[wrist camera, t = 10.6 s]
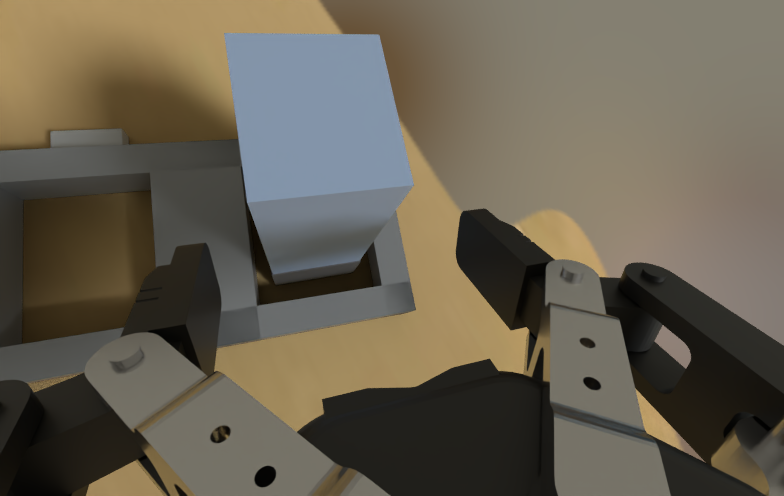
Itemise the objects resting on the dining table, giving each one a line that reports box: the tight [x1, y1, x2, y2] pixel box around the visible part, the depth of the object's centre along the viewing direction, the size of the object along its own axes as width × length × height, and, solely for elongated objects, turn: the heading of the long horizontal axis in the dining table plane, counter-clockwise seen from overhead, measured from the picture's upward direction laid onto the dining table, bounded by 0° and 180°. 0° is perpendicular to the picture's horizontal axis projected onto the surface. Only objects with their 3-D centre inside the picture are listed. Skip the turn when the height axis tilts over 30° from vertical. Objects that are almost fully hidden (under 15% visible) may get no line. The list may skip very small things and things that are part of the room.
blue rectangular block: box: [224, 33, 414, 285], centre depth 15 cm, size 5×4×12 cm
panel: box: [0, 129, 416, 384], centre depth 19 cm, size 12×19×2 cm, turn 101°
